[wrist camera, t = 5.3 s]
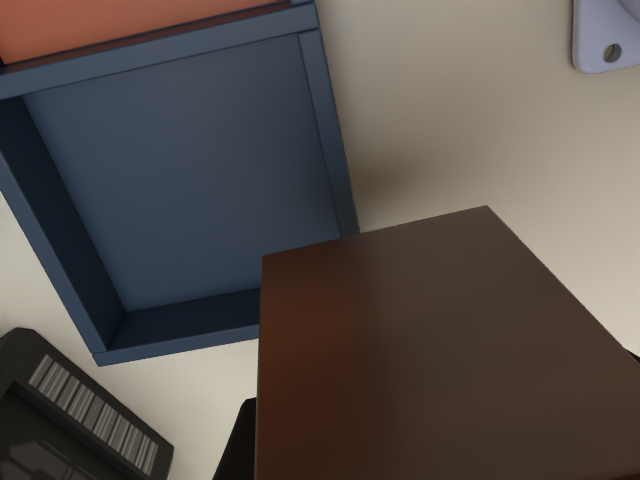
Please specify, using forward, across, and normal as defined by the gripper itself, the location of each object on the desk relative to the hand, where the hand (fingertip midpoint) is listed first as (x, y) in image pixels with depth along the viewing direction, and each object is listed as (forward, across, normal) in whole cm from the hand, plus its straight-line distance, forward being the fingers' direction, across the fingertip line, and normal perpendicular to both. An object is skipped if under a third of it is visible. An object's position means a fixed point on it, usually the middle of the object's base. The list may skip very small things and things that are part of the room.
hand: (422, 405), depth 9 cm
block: (+2, 0, 0) cm, 2 cm away
